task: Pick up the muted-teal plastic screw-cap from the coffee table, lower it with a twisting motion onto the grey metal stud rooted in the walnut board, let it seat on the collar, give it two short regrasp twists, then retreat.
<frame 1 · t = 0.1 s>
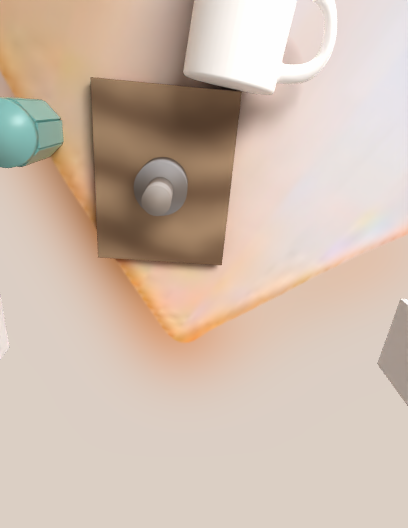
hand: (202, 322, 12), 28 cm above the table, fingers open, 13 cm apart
stud board: (164, 179, 37), on the table
cap: (34, 128, 35), on the table
mug: (257, 33, 32), on the table
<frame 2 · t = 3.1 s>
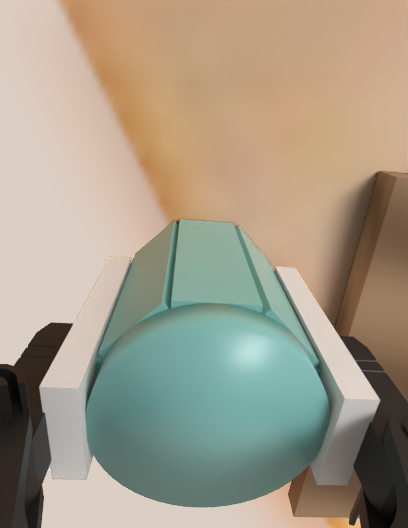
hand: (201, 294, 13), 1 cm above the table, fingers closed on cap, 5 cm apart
cap: (200, 284, 14), on the table, touching gripper
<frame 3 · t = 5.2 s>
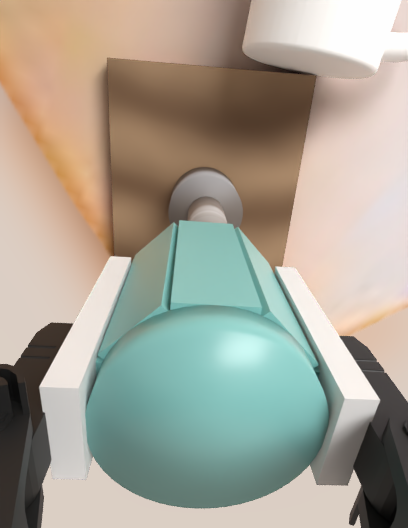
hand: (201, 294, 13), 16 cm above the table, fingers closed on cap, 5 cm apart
stud board: (203, 196, 28), on the table
cap: (200, 285, 14), point 15 cm above the table, touching gripper
when the fingers open (8 cm above the table, at t = 7.4 s): cap drops 2 cm, resting on stud board.
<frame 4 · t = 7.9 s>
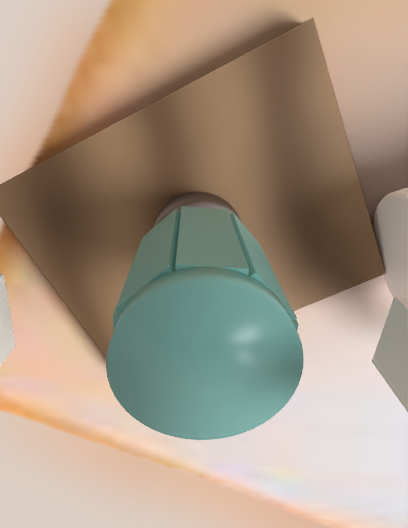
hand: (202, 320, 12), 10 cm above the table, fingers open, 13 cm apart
stud board: (197, 229, 21), on the table
cap: (199, 265, 16), point 5 cm above the table, touching stud board
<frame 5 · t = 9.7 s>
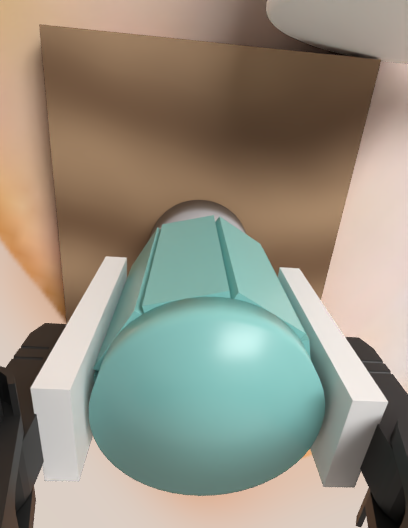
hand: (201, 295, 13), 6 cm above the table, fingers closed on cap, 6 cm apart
stud board: (198, 239, 19), on the table
cap: (200, 281, 14), point 5 cm above the table, touching gripper, stud board
when the fingers open (7 cm above the table, at t = 10.5 s): cap stays where it is, resting on stud board.
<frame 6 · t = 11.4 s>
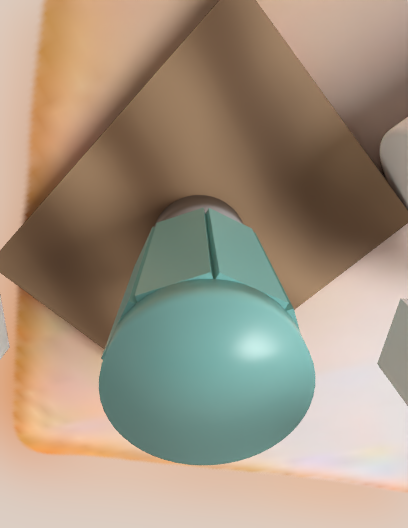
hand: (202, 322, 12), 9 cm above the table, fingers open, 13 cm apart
stud board: (198, 233, 20), on the table
cap: (201, 272, 15), point 5 cm above the table, touching stud board
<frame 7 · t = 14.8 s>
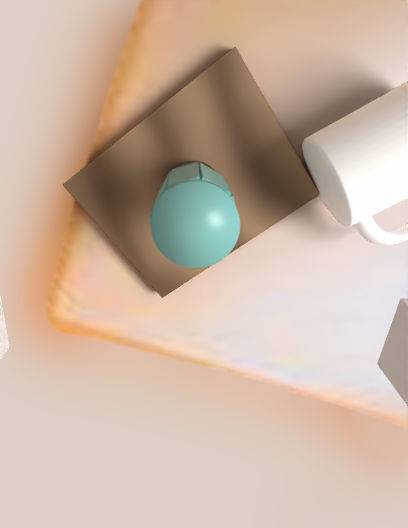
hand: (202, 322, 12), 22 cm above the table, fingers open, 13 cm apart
stud board: (193, 186, 32), on the table
cap: (194, 199, 27), point 5 cm above the table, touching stud board
mug: (366, 168, 32), on the table
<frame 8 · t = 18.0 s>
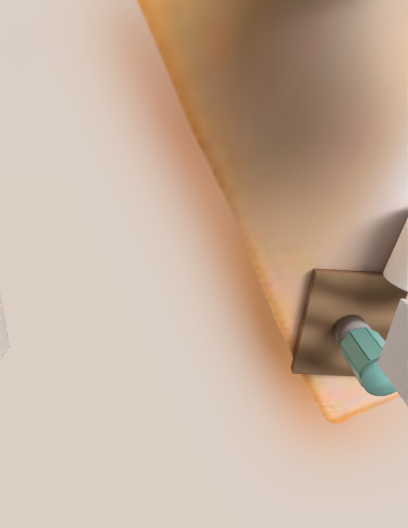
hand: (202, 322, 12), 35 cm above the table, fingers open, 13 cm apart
stud board: (345, 324, 54), on the table
cap: (360, 344, 49), point 5 cm above the table, touching stud board
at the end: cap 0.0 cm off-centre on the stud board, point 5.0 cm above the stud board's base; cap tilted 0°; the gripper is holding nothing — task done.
